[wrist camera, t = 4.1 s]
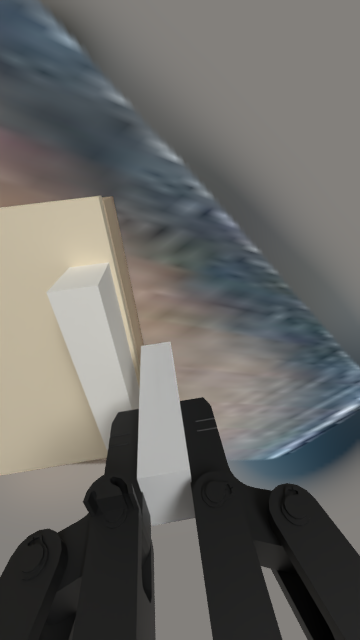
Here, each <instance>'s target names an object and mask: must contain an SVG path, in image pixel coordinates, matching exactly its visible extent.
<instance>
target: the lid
mask: <svg viewBox="0 0 360 640" xmlns="http://www.w3.org/2000/svg"><path fill="white" fill-rule="evenodd" d="M139 395H140V364H139V360H138V355H137V351H136V346H135V342H134V338H133V333H132V329H131V324H130V320H129V315H128V311H127V307H126V302H125V298H124V293H123V289H122V285H121V280H120V276H119V271H118V267H117V262H116V258H115V254H114V249H113V245H112V240H111V236H110V232H109V227H108V223H107V218H106V214H105V210H104V205H103V201H102V196H94V197H86V198H77V199H69V200H61V201H52V202H44V203H35V204H27V205H19V206H10V207H2V208H0V476H1V475H7V474H13V473H19V472H25V471H31V470H37V469H43V468H49V467H55V466H61V465H67V464H73V463H79V462H85V461H91V460H97V459H103V458H107V453H108V449H109V439H110V432H111V425H112V422H113V420H114V419H115V417H116V415H117V413H118V412H122V411H128V410H134V409H139Z"/></svg>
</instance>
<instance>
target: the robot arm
mask: <svg viewBox="0 0 360 640" xmlns="http://www.w3.org/2000/svg"><path fill="white" fill-rule="evenodd" d="M83 503H84V505H85V506H86V508H87V510H88V511H89V513H88V514H87V515H86V516H85V517H84V518H82V519H81V520H79V521H78V522H76V523H74V524H72V525H70V526H69V527H67V528H65V529H63V530H62V531H60V532H58V533H57V532H55V531H53V530H51V529H44V530H39V531H37V532H35V533H33V534H31V535H30V536H28V537H27V539H25V540H24V541H23V542H22V543H21V544H20V545H19V546H18V548H17V549H16V551H15V552H14V553H13V555H12V556H11V558H10V560H9V562H8V564H7V566H6V567H5V570H4V571H3V573H2V575H1V577H0V640H155V601H154V600H155V599H154V553H153V545H152V540H151V523H152V526H154V525H160V524H165V523H170V522H175V521H180V520H186V519H191V518H196V525H197V532H198V539H199V546H200V553H201V560H202V566H203V573H204V580H205V587H206V594H207V601H208V608H209V614H210V622H211V629H212V636H213V640H282V637H281V634H280V630H279V627H278V624H277V620H276V617H275V614H274V610H273V607H272V603H271V600H270V597H269V593H268V590H267V587H266V583H265V580H264V576H263V573H262V569H261V566H264V567H267V568H271V570H272V572H273V574H274V576H275V578H276V580H277V581H278V583H279V585H280V587H281V589H282V591H283V593H284V595H285V597H286V599H287V601H288V603H289V605H290V606H291V608H292V610H293V612H294V614H295V616H296V618H297V620H298V622H299V624H300V626H301V628H302V630H303V632H304V633H305V635H306V637H307V639H308V640H360V556H359V555H358V553H357V552H356V551H355V549H354V548H353V547H352V546H351V544H350V543H349V542H348V540H347V539H346V538H345V536H344V535H343V534H342V533H341V531H340V530H339V529H338V528H337V526H336V525H335V524H334V522H333V521H332V520H331V519H330V518H329V516H328V515H327V513H326V512H325V511H324V510H323V508H322V507H321V506H320V505H319V503H318V502H317V501H316V499H315V498H314V497H313V496H312V495H311V494H310V493H308V492H307V490H305V489H303V488H301V487H300V486H298V485H294V484H288V483H286V484H282V485H278V486H277V487H276V488H275V489H274V490H272V491H270V490H265V489H259V488H254V487H250V486H247V485H245V484H243V483H242V482H240V481H239V480H238V479H236V478H235V477H234V475H233V474H232V472H231V471H230V469H229V466H228V463H227V460H226V456H225V453H224V450H223V446H222V443H221V439H220V436H219V432H218V429H217V425H216V422H215V419H214V415H213V411H212V408H211V406H210V404H209V403H208V402H207V401H206V400H205V399H204V398H203V397H202V398H196V399H190V400H184V401H180V400H179V394H178V387H177V381H176V374H175V368H174V361H173V354H172V348H171V342H165V343H158V344H152V345H145V346H141V363H140V395H139V409H134V410H128V411H122V412H118V413H117V415H116V417H115V419H114V420H113V422H112V425H111V432H110V439H109V449H108V453H107V460H106V467H105V474H104V475H103V476H101V477H100V478H99V479H98V480H96V481H95V482H94V483H93V484H92V485H91V487H90V488H89V489H88V491H87V493H86V495H85V498H84V501H83Z"/></svg>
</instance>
